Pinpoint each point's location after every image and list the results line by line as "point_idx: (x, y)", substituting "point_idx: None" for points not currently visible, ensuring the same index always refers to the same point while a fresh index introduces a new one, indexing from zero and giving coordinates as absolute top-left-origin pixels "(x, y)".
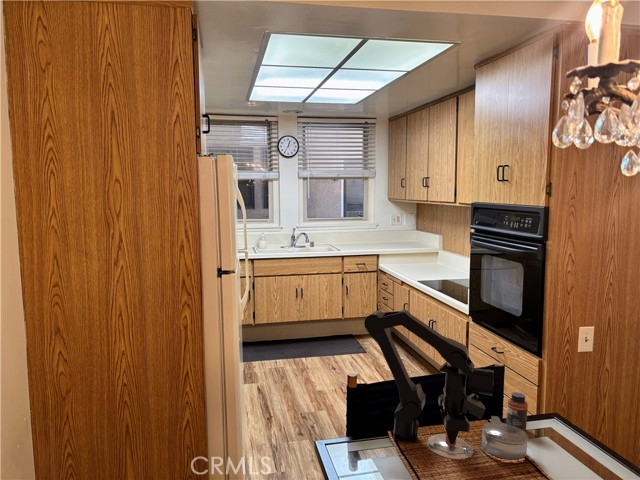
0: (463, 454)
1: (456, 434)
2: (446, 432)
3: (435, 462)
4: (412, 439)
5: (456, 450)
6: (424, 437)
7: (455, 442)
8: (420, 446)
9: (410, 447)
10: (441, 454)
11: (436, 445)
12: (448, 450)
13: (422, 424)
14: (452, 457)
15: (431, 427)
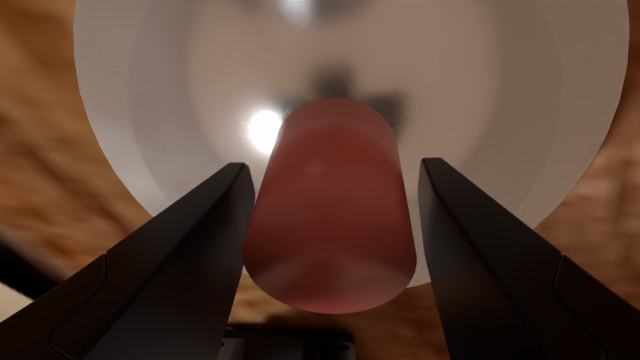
0: (549, 6)
1: (576, 284)
2: (352, 305)
3: (634, 257)
4: (336, 353)
5: (506, 107)
6: (243, 286)
7: (378, 130)
8: (391, 312)
9: (418, 350)
10: (531, 224)
11: (420, 267)
12: (512, 188)
13: (43, 283)
14: (596, 140)
15: (37, 238)
